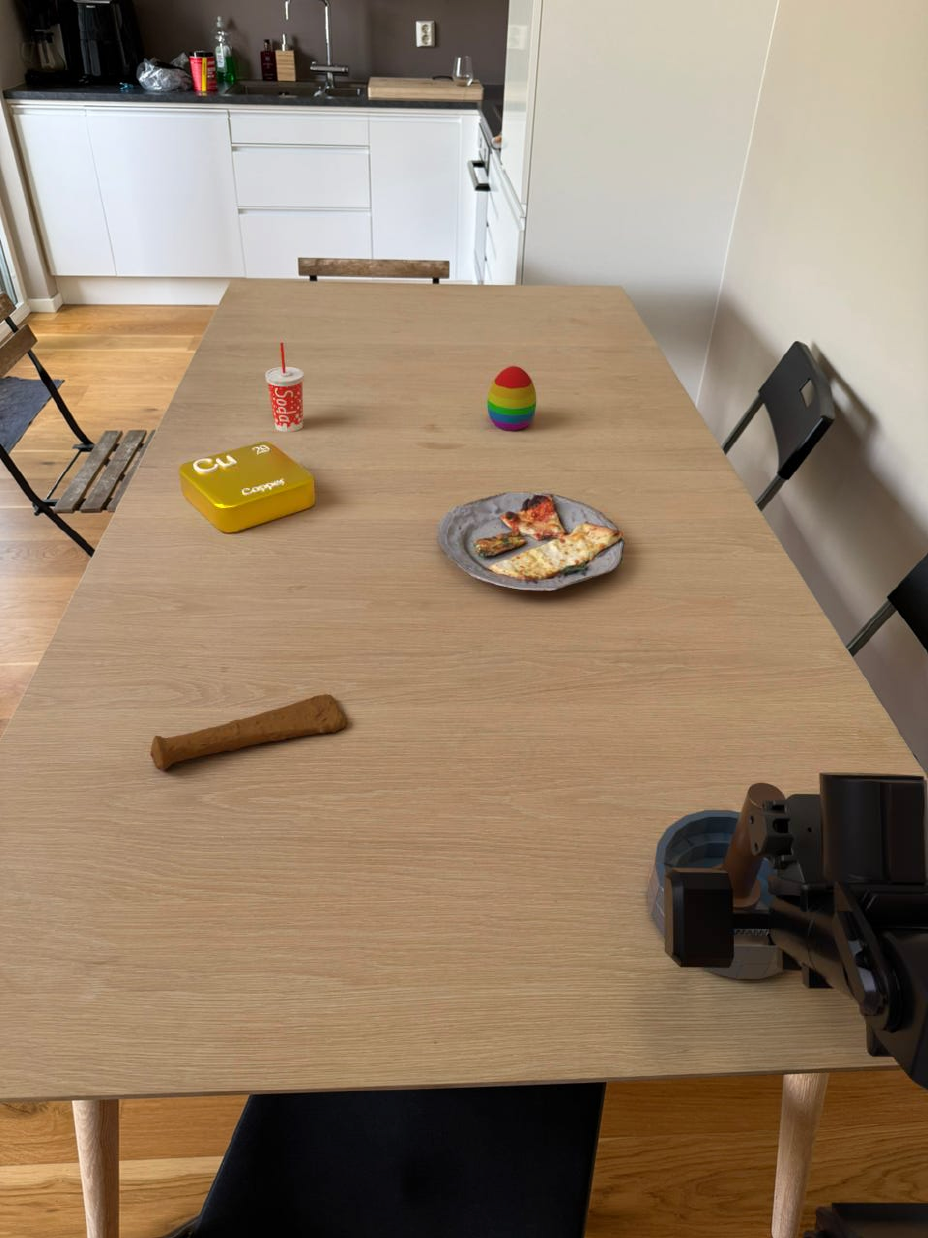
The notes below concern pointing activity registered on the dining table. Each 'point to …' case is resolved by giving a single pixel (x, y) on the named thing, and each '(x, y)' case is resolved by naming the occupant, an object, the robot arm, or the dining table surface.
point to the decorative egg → (512, 399)
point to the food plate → (530, 540)
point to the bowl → (705, 847)
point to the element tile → (247, 486)
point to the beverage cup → (286, 396)
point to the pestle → (746, 850)
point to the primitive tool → (252, 730)
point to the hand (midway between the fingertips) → (759, 895)
